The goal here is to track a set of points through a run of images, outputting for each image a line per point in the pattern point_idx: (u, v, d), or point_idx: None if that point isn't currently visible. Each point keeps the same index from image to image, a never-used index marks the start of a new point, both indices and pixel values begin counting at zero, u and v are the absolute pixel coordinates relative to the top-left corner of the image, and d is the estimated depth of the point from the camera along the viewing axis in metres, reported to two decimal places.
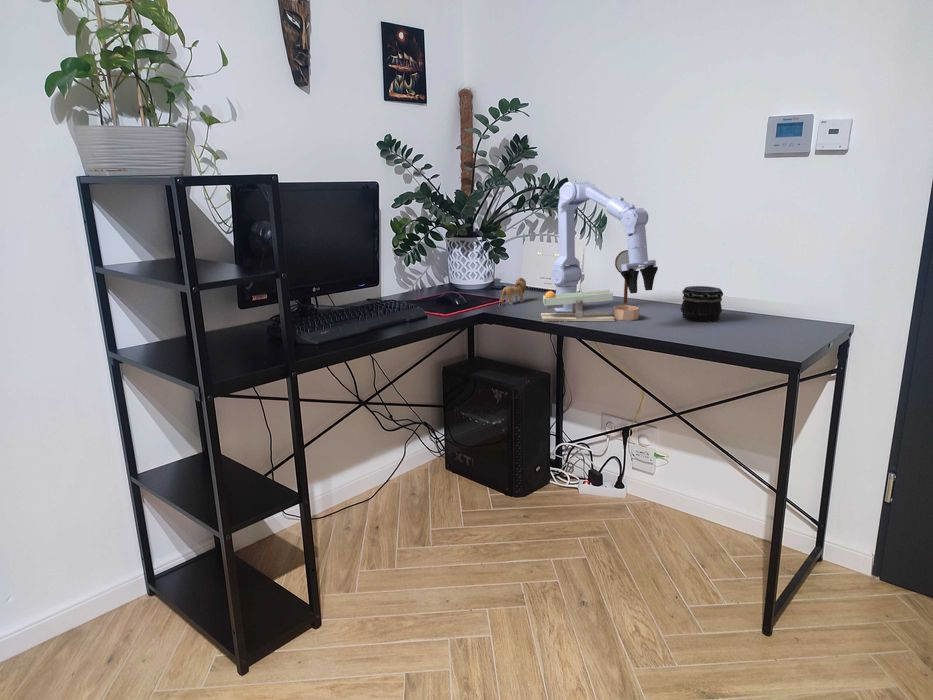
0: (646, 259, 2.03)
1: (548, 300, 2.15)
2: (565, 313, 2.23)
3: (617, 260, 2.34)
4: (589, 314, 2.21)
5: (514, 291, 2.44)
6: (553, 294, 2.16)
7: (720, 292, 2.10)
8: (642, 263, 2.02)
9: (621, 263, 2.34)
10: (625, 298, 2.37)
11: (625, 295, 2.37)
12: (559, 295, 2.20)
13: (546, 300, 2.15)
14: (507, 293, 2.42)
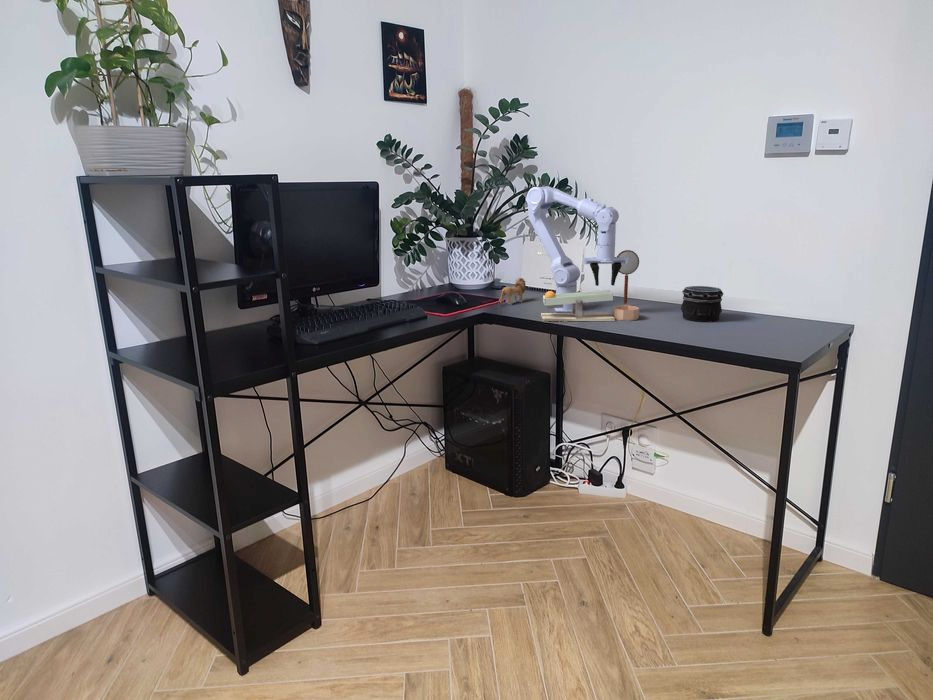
0: (608, 257, 2.18)
1: (548, 300, 2.15)
2: (565, 313, 2.23)
3: None
4: (589, 314, 2.21)
5: (514, 291, 2.44)
6: (553, 294, 2.16)
7: (720, 292, 2.10)
8: (602, 260, 2.18)
9: (621, 263, 2.34)
10: (625, 298, 2.37)
11: (625, 295, 2.37)
12: (559, 295, 2.20)
13: (546, 300, 2.15)
14: (506, 293, 2.42)
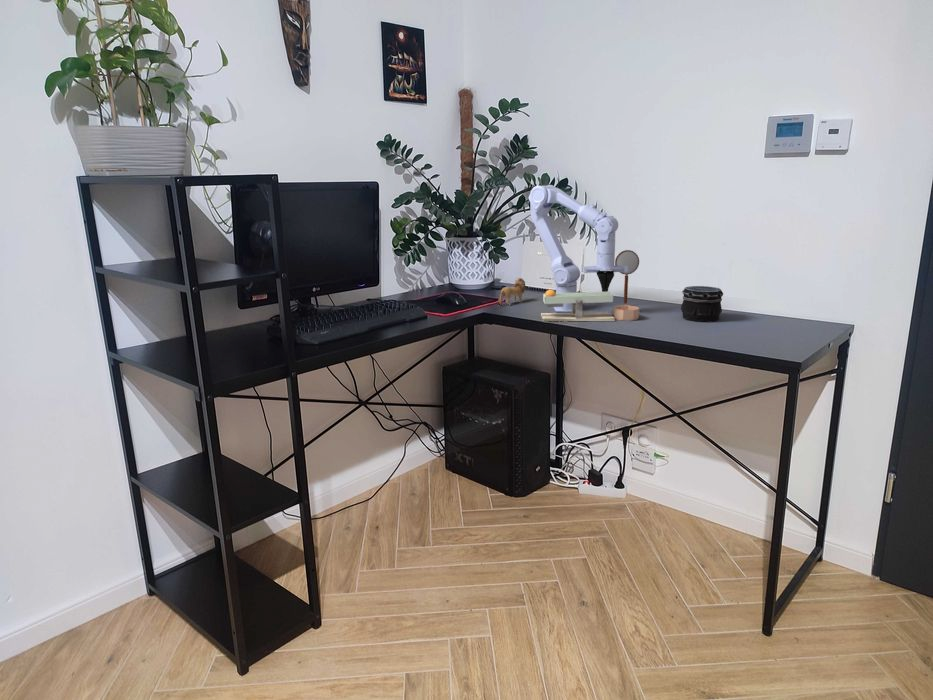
0: (607, 265, 2.19)
1: (548, 298, 2.15)
2: (565, 313, 2.23)
3: (617, 260, 2.34)
4: (589, 314, 2.21)
5: (513, 291, 2.43)
6: (553, 293, 2.16)
7: (720, 292, 2.10)
8: (601, 269, 2.19)
9: (621, 263, 2.34)
10: (625, 298, 2.37)
11: (625, 295, 2.37)
12: (559, 294, 2.20)
13: (546, 298, 2.15)
14: (506, 293, 2.41)
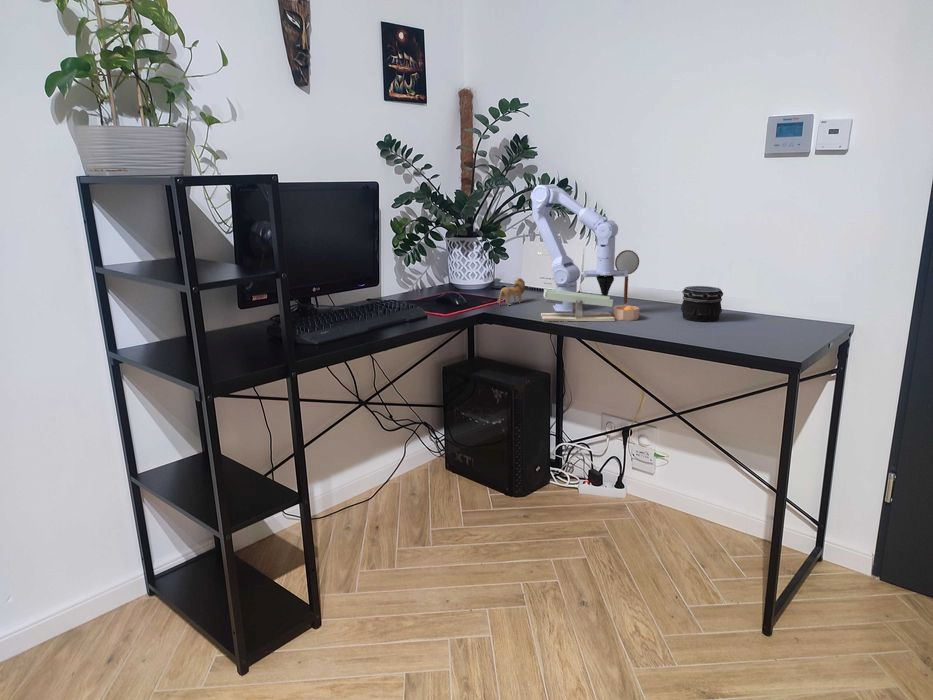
0: (607, 270, 2.19)
1: (549, 294, 2.14)
2: (565, 313, 2.23)
3: (617, 260, 2.34)
4: (589, 314, 2.21)
5: (513, 291, 2.43)
6: None
7: (720, 292, 2.10)
8: (601, 273, 2.20)
9: (621, 263, 2.34)
10: (625, 298, 2.37)
11: (625, 295, 2.37)
12: (560, 292, 2.20)
13: (547, 294, 2.14)
14: (505, 294, 2.41)
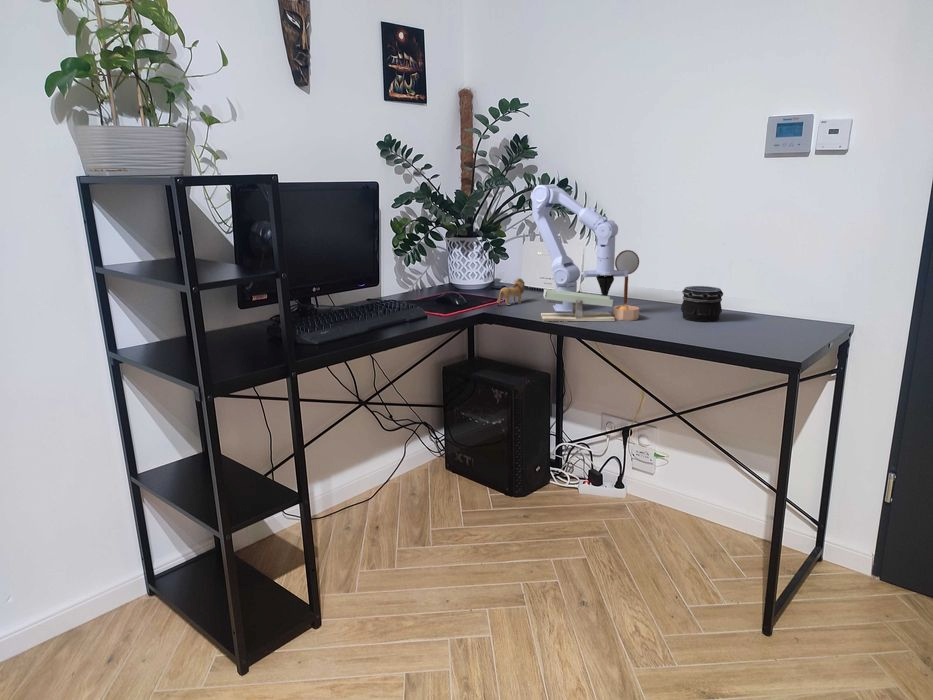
0: (607, 270, 2.19)
1: (549, 294, 2.14)
2: (565, 313, 2.23)
3: (617, 260, 2.34)
4: (589, 314, 2.21)
5: (512, 291, 2.42)
6: None
7: (720, 292, 2.10)
8: (601, 273, 2.20)
9: (621, 263, 2.34)
10: (625, 298, 2.37)
11: (625, 295, 2.37)
12: (560, 292, 2.20)
13: (547, 294, 2.14)
14: (504, 294, 2.41)
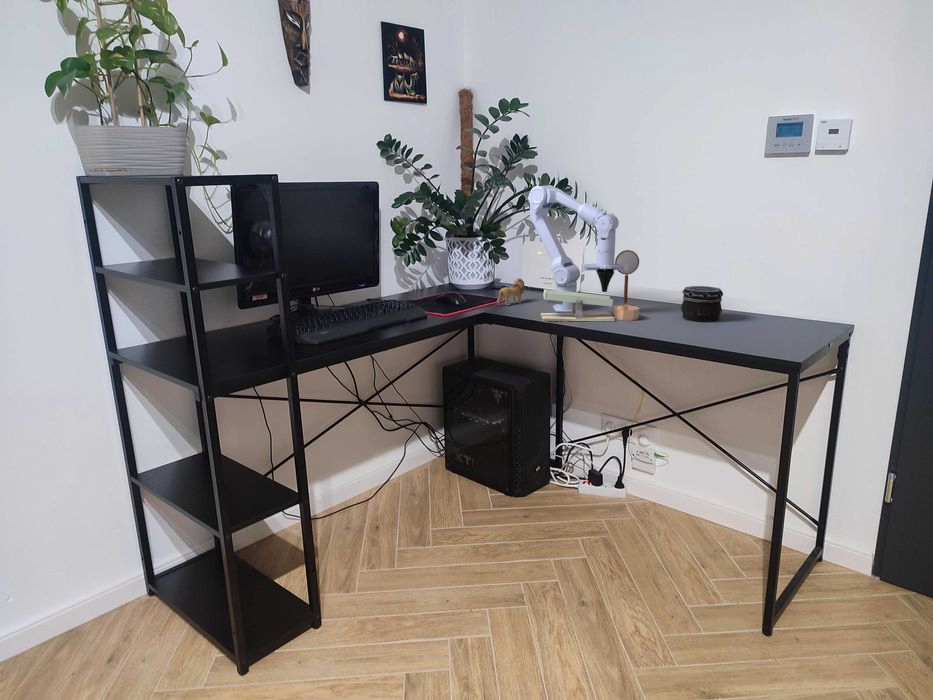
0: (607, 263, 2.18)
1: (549, 294, 2.14)
2: (565, 313, 2.23)
3: (617, 260, 2.34)
4: (589, 314, 2.21)
5: (512, 292, 2.42)
6: None
7: (720, 292, 2.10)
8: (601, 266, 2.19)
9: (621, 263, 2.34)
10: (625, 298, 2.37)
11: (625, 295, 2.37)
12: (560, 292, 2.20)
13: (547, 294, 2.14)
14: (504, 294, 2.41)
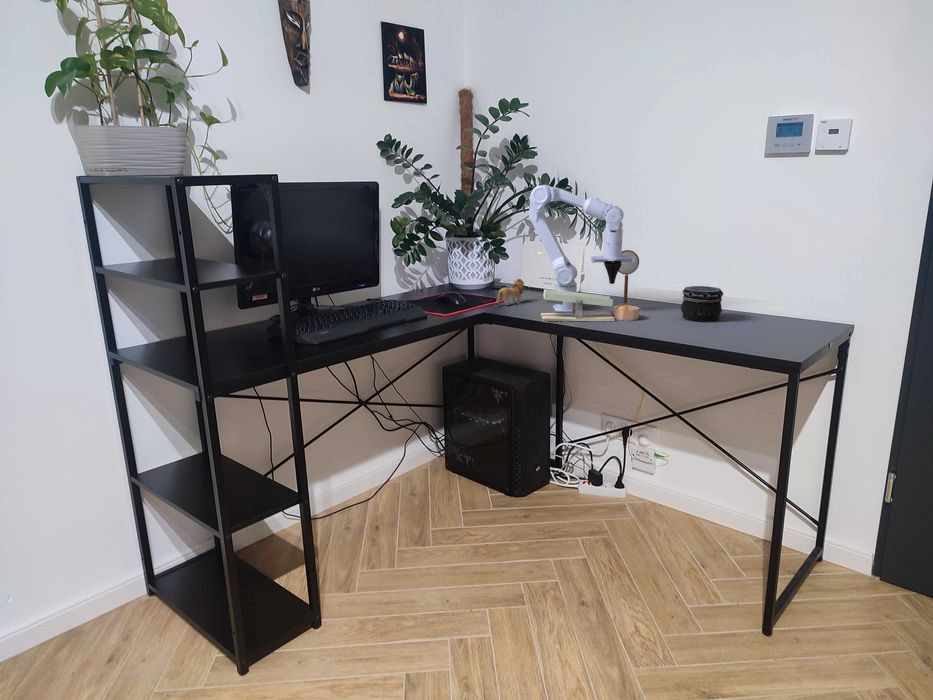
0: (615, 255, 2.21)
1: (549, 294, 2.14)
2: (565, 313, 2.23)
3: None
4: (589, 314, 2.21)
5: (511, 292, 2.42)
6: None
7: (720, 292, 2.10)
8: (609, 258, 2.22)
9: None
10: (625, 298, 2.37)
11: (625, 295, 2.37)
12: (560, 292, 2.20)
13: (547, 294, 2.14)
14: (503, 294, 2.40)
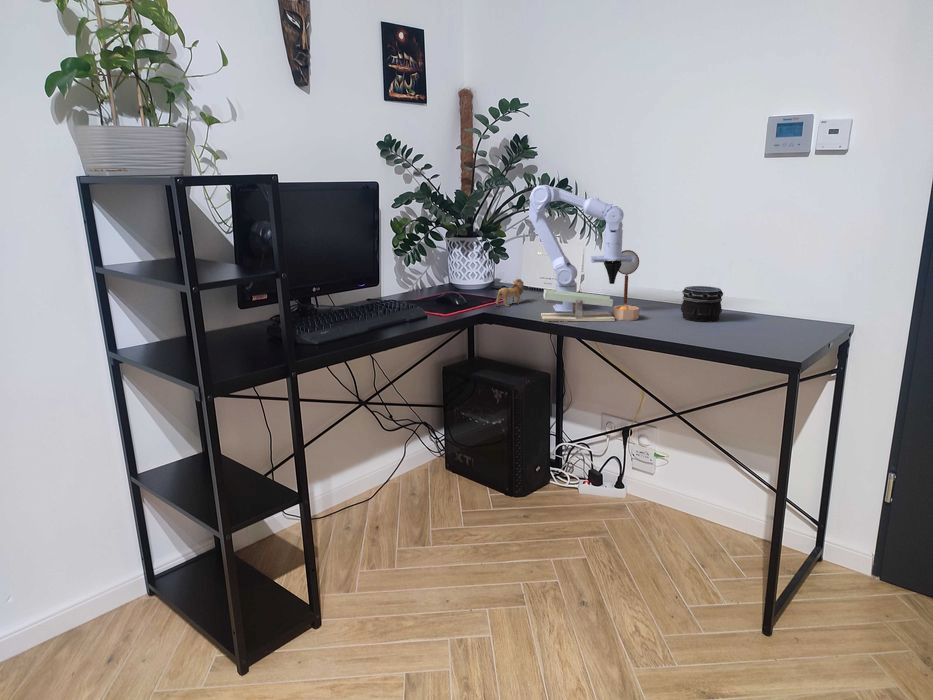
0: (615, 255, 2.21)
1: (549, 294, 2.14)
2: (565, 313, 2.23)
3: None
4: (589, 314, 2.21)
5: (511, 292, 2.41)
6: None
7: (720, 292, 2.10)
8: (609, 258, 2.22)
9: None
10: (625, 298, 2.37)
11: (625, 295, 2.37)
12: (560, 292, 2.20)
13: (547, 294, 2.14)
14: (503, 294, 2.40)
